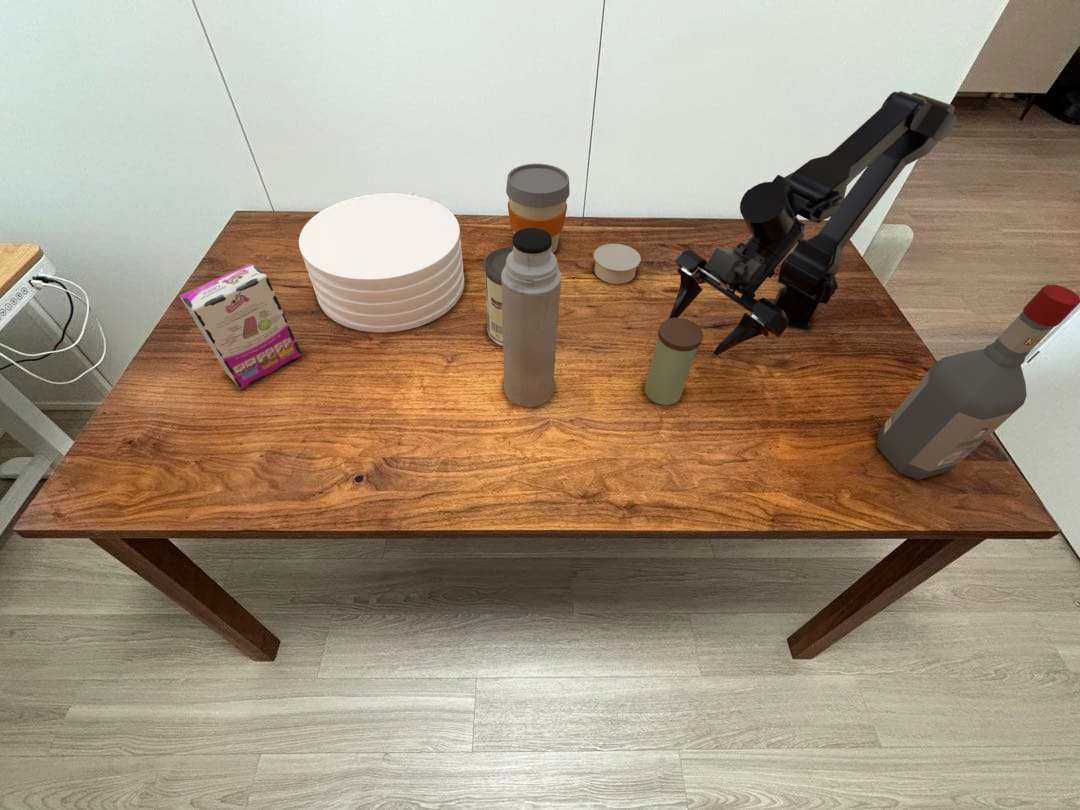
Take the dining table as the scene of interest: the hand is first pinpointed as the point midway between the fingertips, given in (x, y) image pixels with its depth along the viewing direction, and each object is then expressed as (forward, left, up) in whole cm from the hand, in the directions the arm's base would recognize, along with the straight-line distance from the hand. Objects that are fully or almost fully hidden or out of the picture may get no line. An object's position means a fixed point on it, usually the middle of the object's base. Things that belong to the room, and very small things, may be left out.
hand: (691, 337), depth 82 cm
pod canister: (+2, +3, -10) cm, 11 cm away
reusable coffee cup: (+35, -30, -10) cm, 47 cm away
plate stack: (+57, -7, -10) cm, 58 cm away
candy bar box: (+66, +20, -10) cm, 70 cm away
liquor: (-36, +3, -10) cm, 38 cm away
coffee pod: (+17, -27, -10) cm, 34 cm away
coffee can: (+30, -3, -10) cm, 32 cm away
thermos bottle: (+23, +10, -10) cm, 27 cm away
